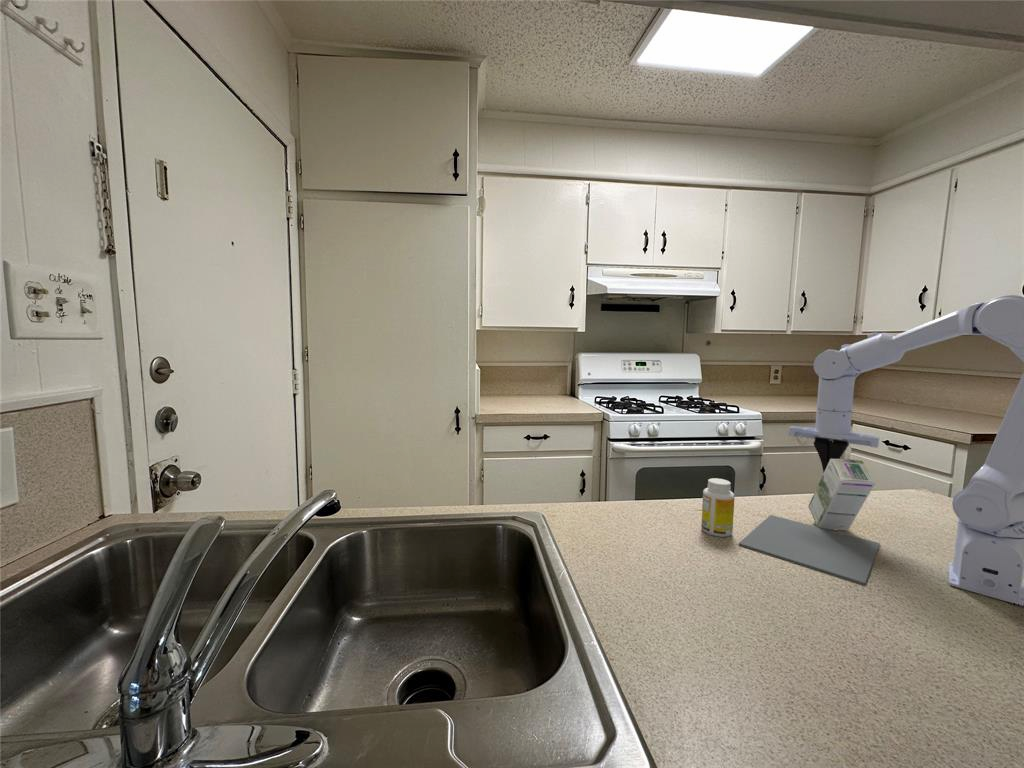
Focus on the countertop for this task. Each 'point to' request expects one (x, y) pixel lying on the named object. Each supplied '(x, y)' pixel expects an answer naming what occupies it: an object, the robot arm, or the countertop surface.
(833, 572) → the mat
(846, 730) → the countertop surface
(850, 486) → the syrup box
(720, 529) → the supplement bottle
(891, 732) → the countertop surface
